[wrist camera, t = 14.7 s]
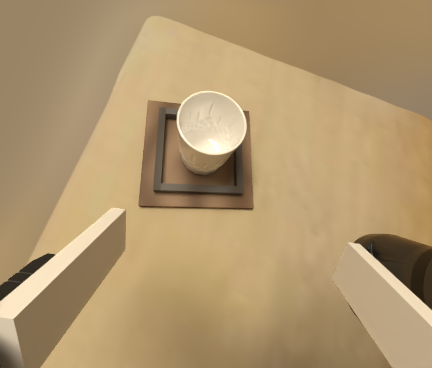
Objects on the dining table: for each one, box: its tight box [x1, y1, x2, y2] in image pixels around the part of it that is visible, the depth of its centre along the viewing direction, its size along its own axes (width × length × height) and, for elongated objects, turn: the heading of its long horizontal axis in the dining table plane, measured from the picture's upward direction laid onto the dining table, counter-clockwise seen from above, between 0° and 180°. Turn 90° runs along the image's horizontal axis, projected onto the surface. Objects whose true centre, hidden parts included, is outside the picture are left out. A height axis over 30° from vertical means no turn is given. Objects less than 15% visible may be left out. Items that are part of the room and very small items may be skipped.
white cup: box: [177, 91, 247, 175], centre depth 27 cm, size 8×8×10 cm
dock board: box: [138, 100, 253, 209], centre depth 32 cm, size 17×17×2 cm
